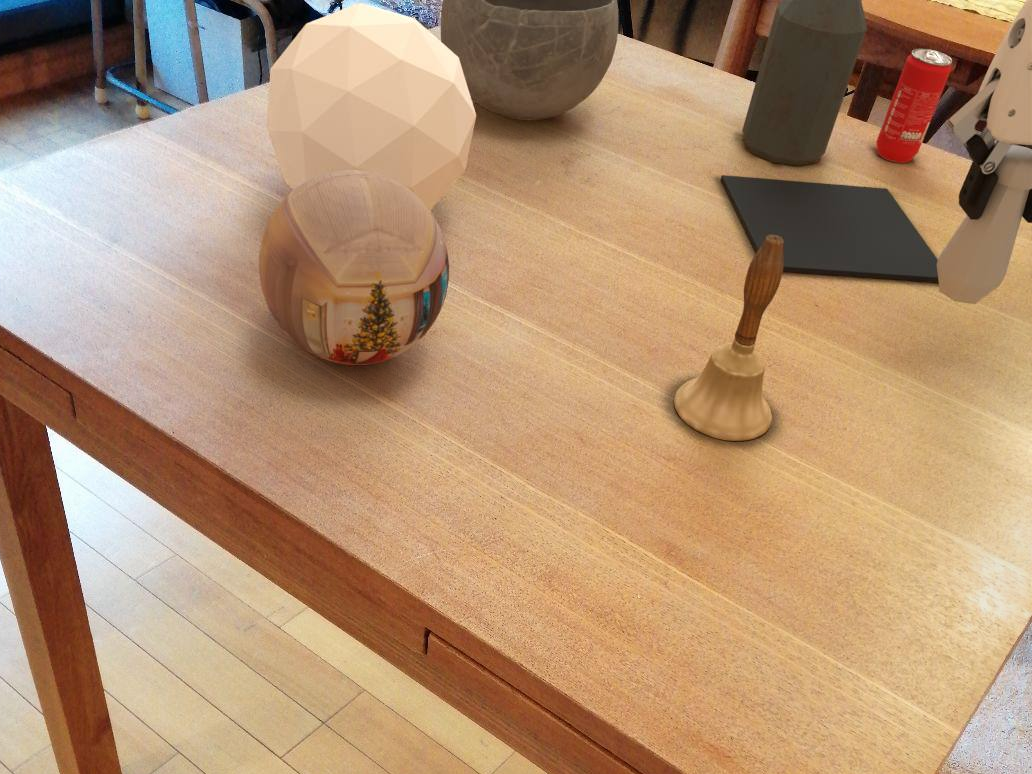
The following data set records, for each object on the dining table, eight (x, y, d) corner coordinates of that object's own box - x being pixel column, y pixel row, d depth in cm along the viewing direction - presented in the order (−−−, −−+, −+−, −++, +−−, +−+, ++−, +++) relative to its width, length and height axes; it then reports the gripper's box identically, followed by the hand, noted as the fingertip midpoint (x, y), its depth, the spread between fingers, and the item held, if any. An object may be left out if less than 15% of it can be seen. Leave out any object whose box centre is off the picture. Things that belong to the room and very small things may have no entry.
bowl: (440, 66, 139) (451, -64, 129) (598, 87, 140) (622, -39, 130) (427, 132, 124) (438, -8, 114) (604, 156, 125) (631, 19, 115)
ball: (404, 292, 112) (473, 204, 94) (218, 204, 106) (252, 91, 88) (459, 142, 117) (533, 31, 99) (284, 50, 112) (329, -86, 93)
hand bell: (726, 453, 87) (786, 278, 76) (653, 399, 92) (700, 226, 81) (791, 421, 92) (856, 250, 81) (718, 370, 96) (771, 202, 85)
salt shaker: (914, 277, 98) (973, 138, 89) (965, 271, 100) (1027, 133, 91) (955, 313, 95) (1020, 171, 86) (1006, 305, 96) (1076, 166, 87)
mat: (885, 193, 127) (887, 188, 127) (949, 283, 113) (951, 278, 112) (720, 179, 124) (721, 174, 124) (764, 270, 110) (766, 265, 110)
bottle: (784, 126, 138) (868, -146, 117) (839, 160, 132) (937, -120, 112) (723, 136, 133) (799, -145, 113) (777, 172, 128) (867, -118, 107)
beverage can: (873, 158, 134) (910, 59, 126) (872, 142, 138) (908, 44, 129) (915, 167, 134) (955, 68, 125) (913, 151, 137) (952, 53, 129)
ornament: (395, 423, 85) (407, 250, 75) (226, 366, 88) (215, 191, 78) (467, 332, 96) (487, 169, 85) (315, 283, 98) (316, 120, 88)
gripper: (1014, -9, 76) (917, 230, 88) (1235, 10, 78) (1109, 241, 90) (972, -44, 81) (886, 187, 94) (1180, -25, 83) (1068, 198, 96)
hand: (997, 211), depth 92 cm, fingers closed on salt shaker, 4 cm apart
